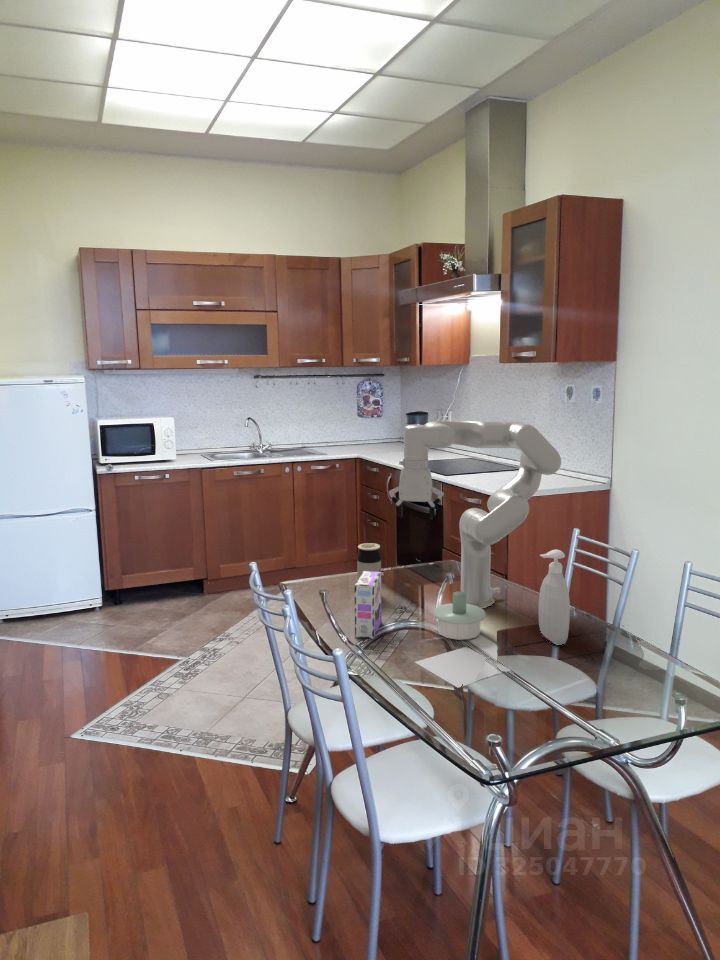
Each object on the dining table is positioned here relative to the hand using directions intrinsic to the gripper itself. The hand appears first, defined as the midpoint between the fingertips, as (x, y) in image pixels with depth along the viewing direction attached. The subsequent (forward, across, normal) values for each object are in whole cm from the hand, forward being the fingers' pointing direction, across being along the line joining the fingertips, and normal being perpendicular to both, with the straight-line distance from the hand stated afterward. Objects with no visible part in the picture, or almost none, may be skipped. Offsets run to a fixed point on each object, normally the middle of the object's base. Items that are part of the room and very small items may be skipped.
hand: (415, 518), depth 233 cm
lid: (+24, +16, -18) cm, 34 cm away
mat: (+30, +18, -41) cm, 54 cm away
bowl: (+30, +16, -18) cm, 39 cm away
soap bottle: (+31, +42, -18) cm, 55 cm away
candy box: (+31, -11, -20) cm, 38 cm away
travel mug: (+31, -17, +8) cm, 36 cm away
